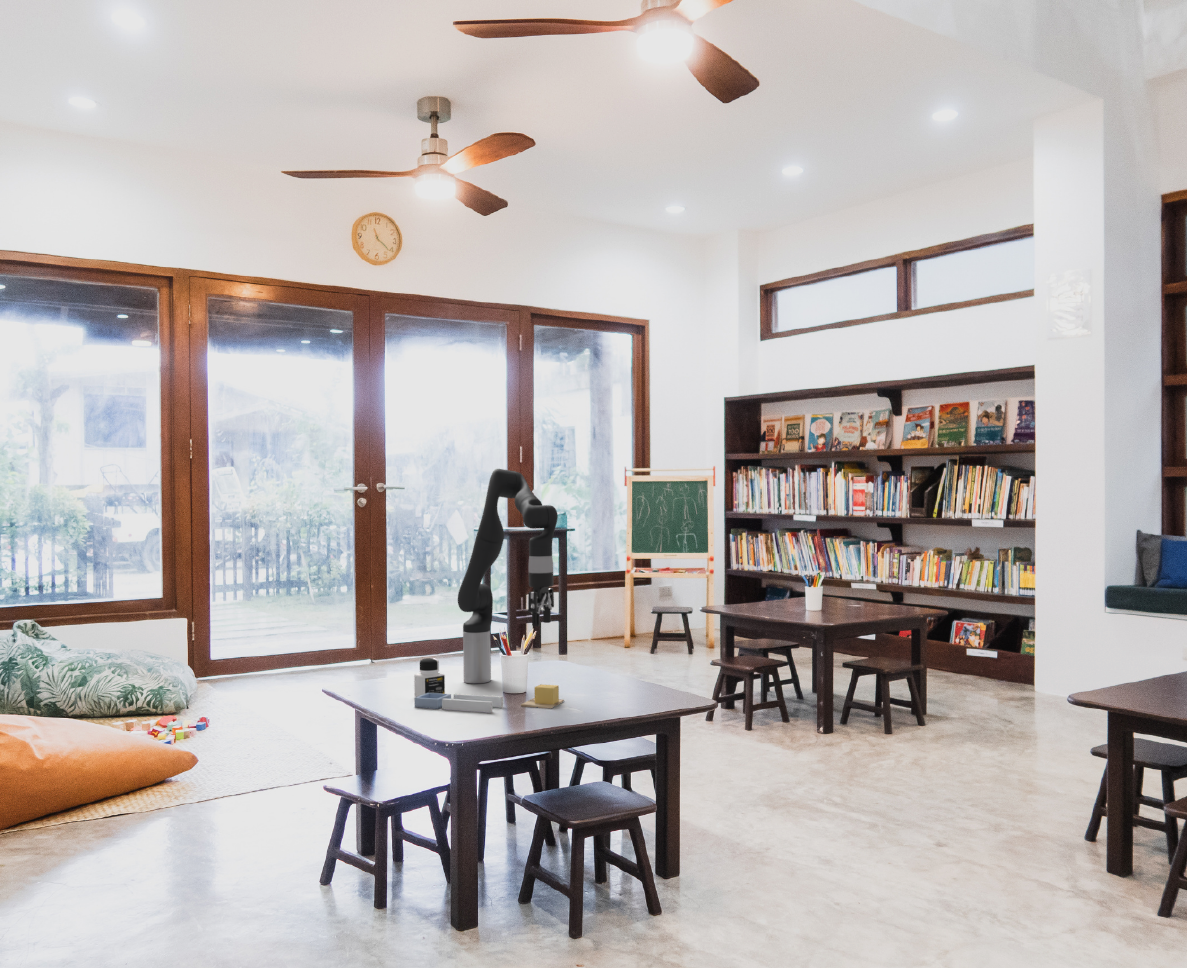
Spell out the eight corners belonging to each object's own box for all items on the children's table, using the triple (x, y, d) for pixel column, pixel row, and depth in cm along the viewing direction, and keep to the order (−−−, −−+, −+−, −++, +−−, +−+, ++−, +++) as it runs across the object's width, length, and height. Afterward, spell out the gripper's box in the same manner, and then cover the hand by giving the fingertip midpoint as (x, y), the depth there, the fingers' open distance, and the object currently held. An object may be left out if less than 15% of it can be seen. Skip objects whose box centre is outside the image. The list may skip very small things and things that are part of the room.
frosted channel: (442, 709, 279) (442, 699, 279) (455, 703, 287) (455, 693, 287) (490, 712, 273) (490, 702, 273) (503, 706, 281) (503, 696, 281)
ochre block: (540, 700, 287) (540, 684, 287) (558, 701, 285) (558, 685, 285) (534, 703, 283) (534, 687, 283) (553, 704, 280) (552, 688, 281)
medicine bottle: (425, 700, 292) (424, 661, 293) (414, 696, 298) (413, 658, 298) (445, 696, 297) (444, 658, 297) (433, 693, 302) (433, 656, 303)
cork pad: (534, 699, 290) (534, 697, 290) (564, 701, 287) (564, 699, 287) (520, 706, 281) (520, 704, 281) (551, 708, 278) (551, 706, 278)
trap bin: (428, 701, 290) (428, 692, 290) (451, 703, 287) (450, 694, 287) (414, 707, 282) (414, 698, 282) (438, 709, 279) (437, 699, 279)
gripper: (543, 572, 277) (543, 627, 277) (561, 569, 290) (561, 621, 290) (519, 572, 279) (520, 627, 279) (538, 569, 293) (539, 621, 292)
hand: (541, 624), depth 284 cm, fingers open, 8 cm apart
